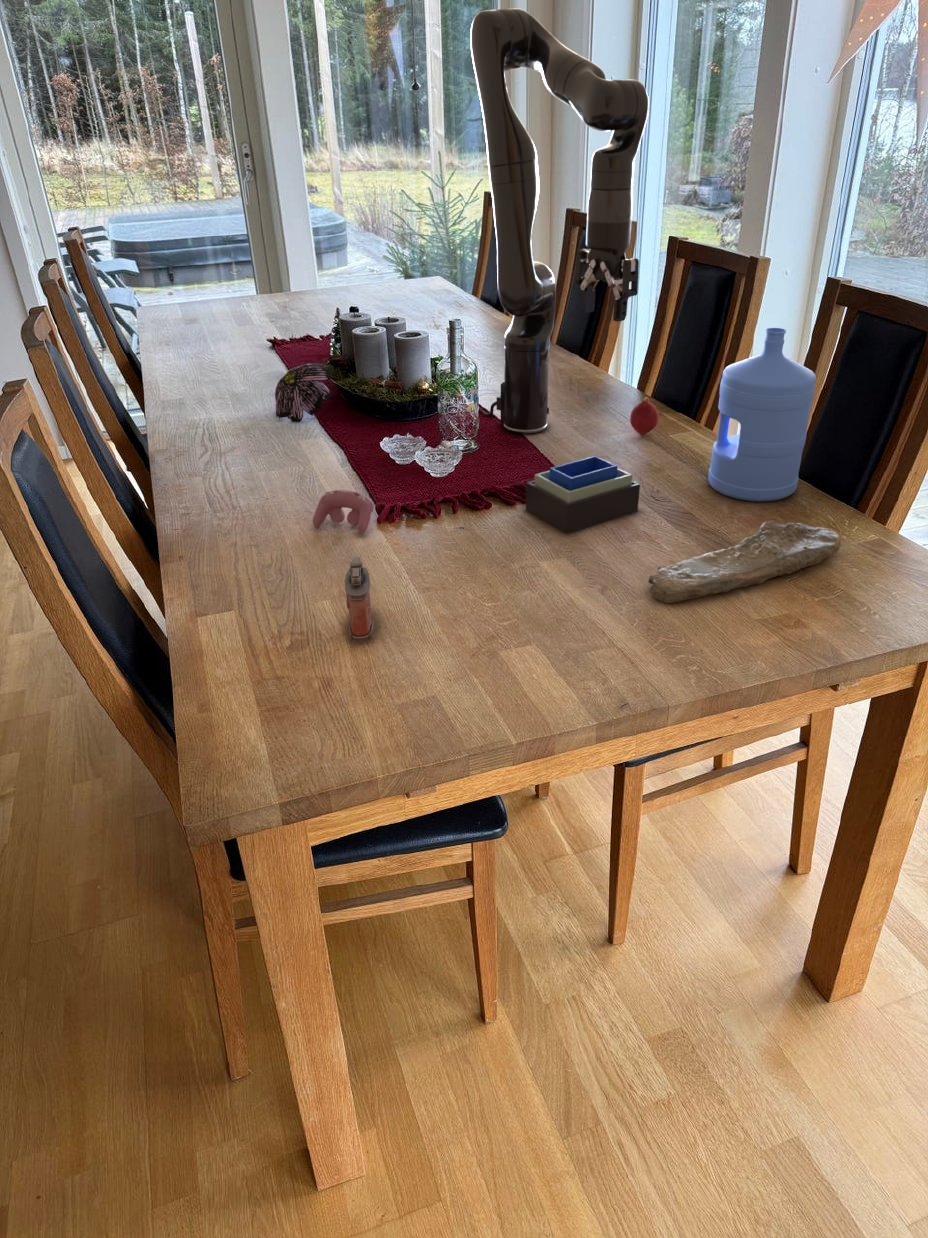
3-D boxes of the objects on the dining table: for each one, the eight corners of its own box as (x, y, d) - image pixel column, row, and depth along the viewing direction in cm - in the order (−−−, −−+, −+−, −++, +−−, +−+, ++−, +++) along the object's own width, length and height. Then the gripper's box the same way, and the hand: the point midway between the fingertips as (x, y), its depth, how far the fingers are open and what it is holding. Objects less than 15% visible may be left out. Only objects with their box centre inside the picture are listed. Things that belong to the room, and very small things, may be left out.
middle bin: (567, 527, 149) (569, 492, 146) (533, 507, 156) (534, 474, 153) (629, 508, 155) (632, 474, 152) (594, 489, 162) (596, 457, 159)
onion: (656, 440, 185) (660, 402, 181) (628, 439, 186) (631, 401, 182) (656, 431, 190) (660, 393, 185) (629, 429, 191) (632, 392, 186)
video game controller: (373, 535, 153) (378, 494, 152) (362, 534, 148) (367, 492, 148) (321, 527, 156) (326, 487, 155) (309, 526, 151) (314, 485, 150)
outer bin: (566, 534, 148) (567, 505, 146) (525, 510, 157) (526, 482, 154) (637, 511, 155) (640, 484, 153) (595, 489, 164) (596, 463, 161)
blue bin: (569, 517, 151) (570, 478, 147) (548, 505, 155) (549, 467, 152) (614, 503, 155) (617, 465, 152) (593, 492, 160) (595, 455, 156)
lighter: (350, 613, 128) (343, 550, 123) (373, 611, 128) (368, 549, 123) (348, 643, 121) (341, 578, 116) (373, 642, 121) (368, 577, 116)
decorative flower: (252, 368, 201) (312, 341, 203) (269, 408, 210) (327, 382, 212) (272, 403, 192) (335, 374, 194) (289, 443, 201) (349, 415, 203)
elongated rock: (630, 591, 134) (672, 625, 127) (633, 561, 131) (675, 594, 124) (807, 530, 146) (854, 558, 139) (813, 502, 143) (861, 528, 136)
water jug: (801, 476, 167) (830, 323, 152) (789, 509, 155) (819, 345, 140) (716, 465, 173) (737, 315, 158) (699, 495, 161) (719, 336, 146)
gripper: (655, 219, 148) (646, 320, 156) (599, 211, 158) (594, 306, 166) (620, 224, 144) (613, 327, 153) (565, 214, 155) (562, 311, 163)
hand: (603, 316), depth 160 cm, fingers open, 8 cm apart
